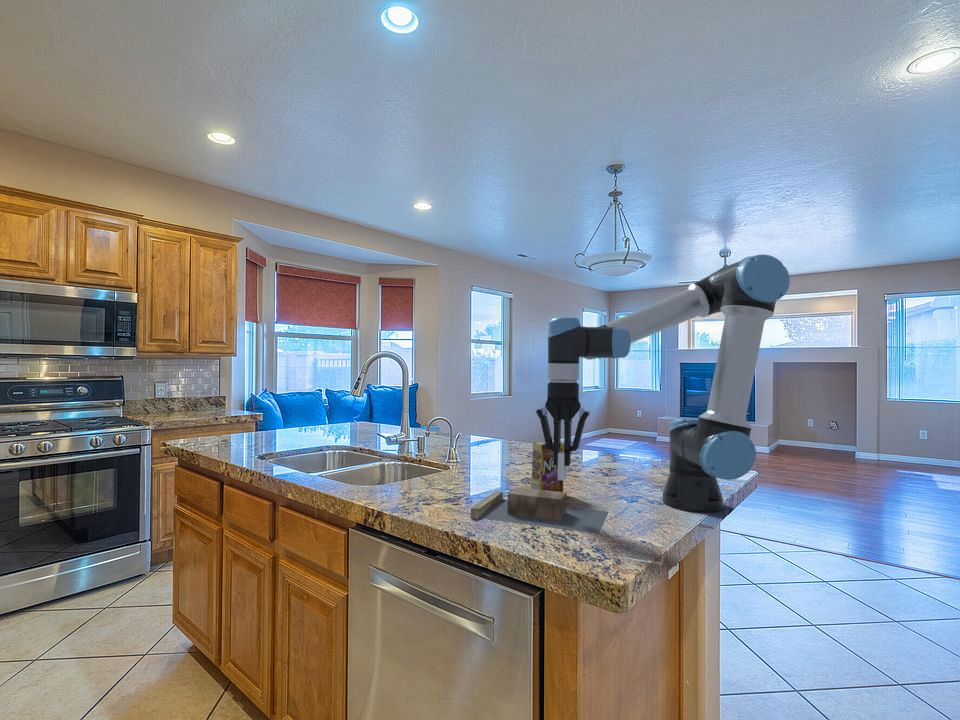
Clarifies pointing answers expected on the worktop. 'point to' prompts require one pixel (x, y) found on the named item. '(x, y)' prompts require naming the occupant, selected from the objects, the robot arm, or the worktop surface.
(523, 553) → the worktop surface
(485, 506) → the lip
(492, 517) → the mat
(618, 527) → the worktop surface
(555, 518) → the block
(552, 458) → the candy box
